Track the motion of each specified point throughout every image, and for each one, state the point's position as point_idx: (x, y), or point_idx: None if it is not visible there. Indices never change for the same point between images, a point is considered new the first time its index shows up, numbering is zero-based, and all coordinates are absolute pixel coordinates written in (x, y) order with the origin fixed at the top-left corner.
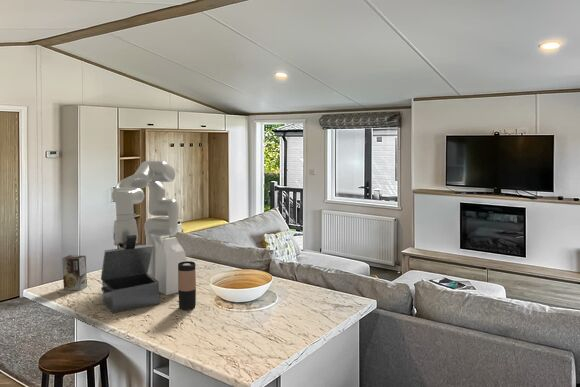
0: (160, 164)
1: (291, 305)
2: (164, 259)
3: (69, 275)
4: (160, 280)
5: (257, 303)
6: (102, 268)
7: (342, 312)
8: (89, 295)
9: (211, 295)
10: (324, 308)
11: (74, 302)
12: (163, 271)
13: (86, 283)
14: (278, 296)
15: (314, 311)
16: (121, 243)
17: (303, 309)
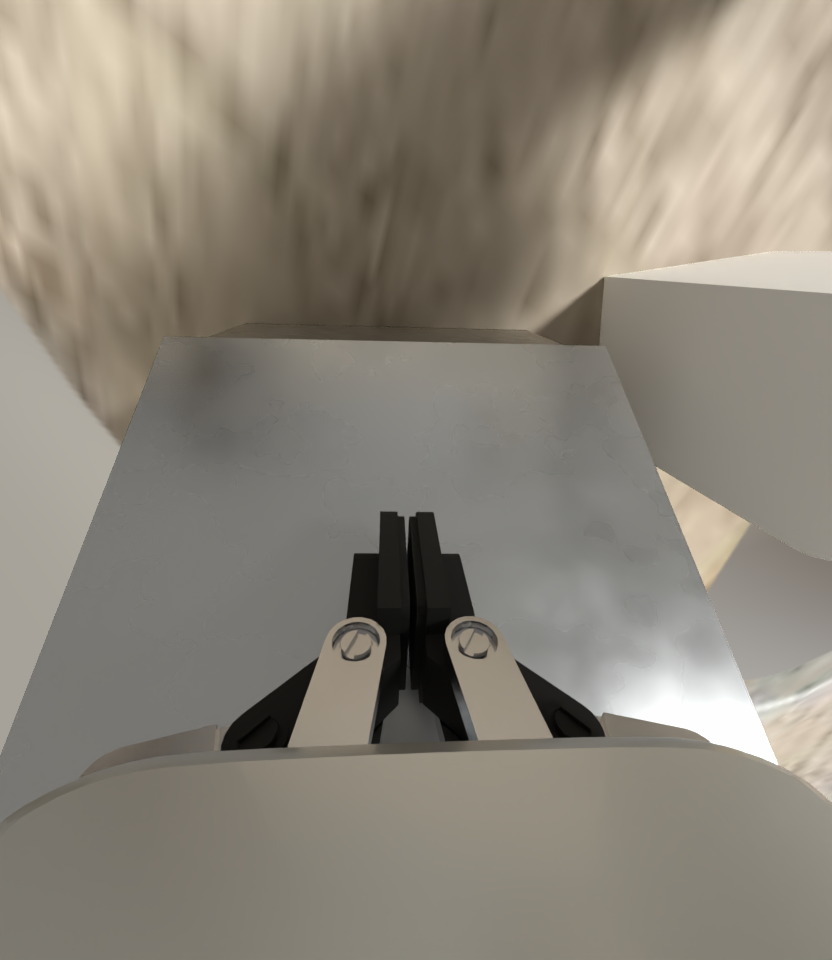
0: None
1: (801, 728)
2: (792, 506)
3: None
4: (645, 374)
5: (758, 682)
6: (119, 470)
7: (822, 793)
8: (148, 98)
9: (731, 547)
10: (826, 767)
11: (45, 225)
12: (694, 443)
13: None
14: None
15: (791, 771)
16: (305, 745)
17: (789, 755)
